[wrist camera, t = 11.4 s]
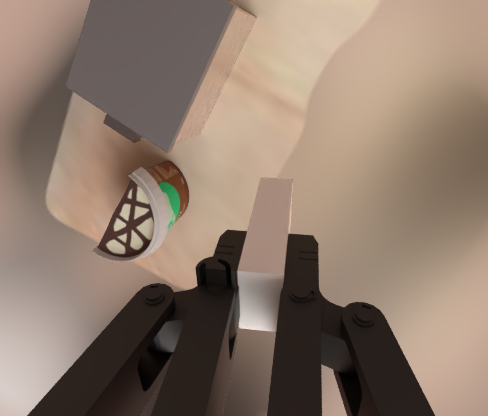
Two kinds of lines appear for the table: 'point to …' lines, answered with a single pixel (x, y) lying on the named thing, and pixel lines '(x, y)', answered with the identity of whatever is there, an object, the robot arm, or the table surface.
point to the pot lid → (148, 60)
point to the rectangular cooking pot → (206, 79)
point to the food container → (145, 213)
